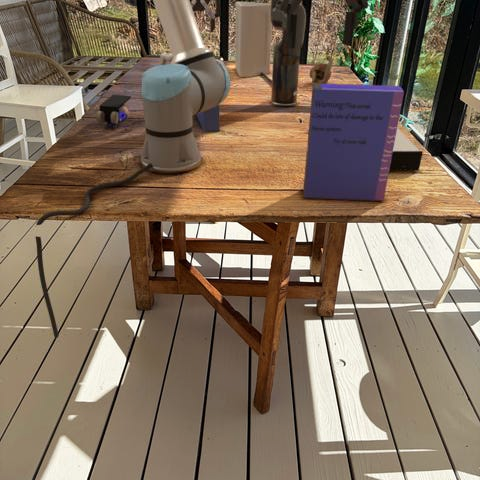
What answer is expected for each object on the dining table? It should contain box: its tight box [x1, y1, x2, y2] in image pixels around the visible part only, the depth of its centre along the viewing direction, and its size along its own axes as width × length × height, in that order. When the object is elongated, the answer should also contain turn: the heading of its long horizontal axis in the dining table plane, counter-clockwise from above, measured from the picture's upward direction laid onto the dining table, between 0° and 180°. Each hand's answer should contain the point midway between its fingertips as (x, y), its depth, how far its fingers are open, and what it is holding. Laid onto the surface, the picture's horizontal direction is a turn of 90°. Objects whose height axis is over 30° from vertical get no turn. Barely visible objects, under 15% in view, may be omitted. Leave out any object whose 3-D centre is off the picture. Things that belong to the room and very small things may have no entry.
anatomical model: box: [309, 55, 334, 84], centre depth 196 cm, size 13×9×15 cm
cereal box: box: [302, 83, 405, 202], centre depth 102 cm, size 17×5×24 cm, turn 86°
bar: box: [195, 104, 221, 133], centre depth 154 cm, size 26×5×9 cm, turn 12°
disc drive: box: [389, 127, 424, 172], centre depth 128 cm, size 18×22×5 cm
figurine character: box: [95, 94, 132, 130], centre depth 148 cm, size 7×8×15 cm
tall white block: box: [234, 1, 273, 78], centre depth 210 cm, size 19×15×28 cm
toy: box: [159, 51, 226, 67], centre depth 223 cm, size 24×25×7 cm
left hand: (319, 46), depth 103 cm, fingers open, 13 cm apart
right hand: (198, 32), depth 152 cm, fingers open, 8 cm apart
